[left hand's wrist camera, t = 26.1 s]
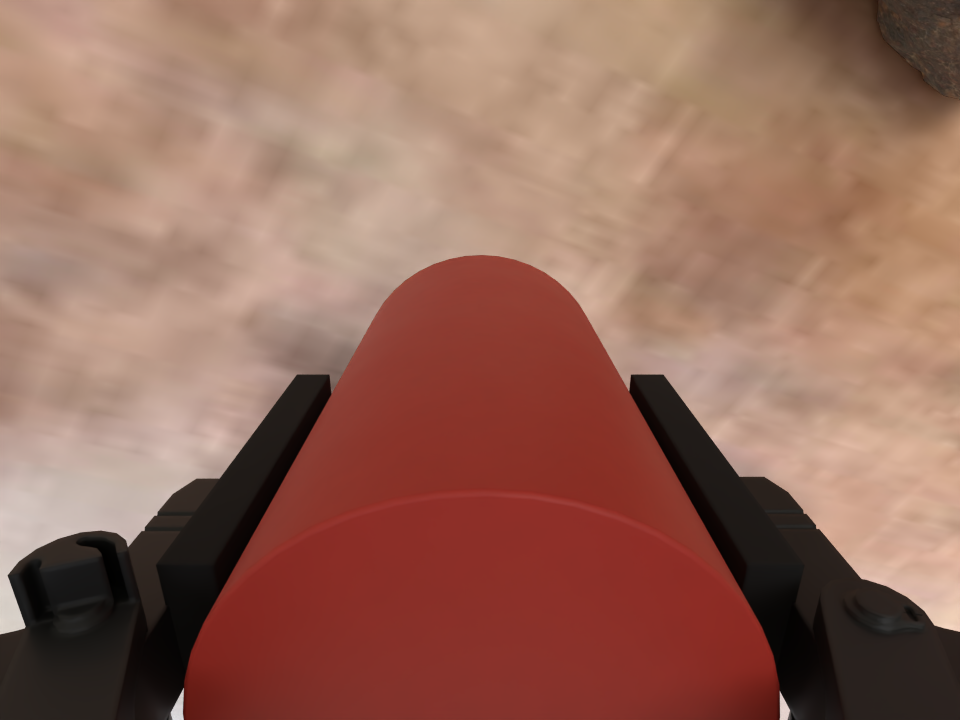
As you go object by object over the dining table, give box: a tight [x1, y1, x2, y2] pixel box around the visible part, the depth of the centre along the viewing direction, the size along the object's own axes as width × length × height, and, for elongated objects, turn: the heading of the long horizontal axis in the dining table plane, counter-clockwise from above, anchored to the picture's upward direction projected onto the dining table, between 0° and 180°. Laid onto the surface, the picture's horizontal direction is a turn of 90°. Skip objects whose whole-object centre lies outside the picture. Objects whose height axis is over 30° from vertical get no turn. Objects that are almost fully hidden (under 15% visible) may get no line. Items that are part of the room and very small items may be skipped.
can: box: [183, 255, 780, 720], centre depth 13 cm, size 7×7×12 cm
